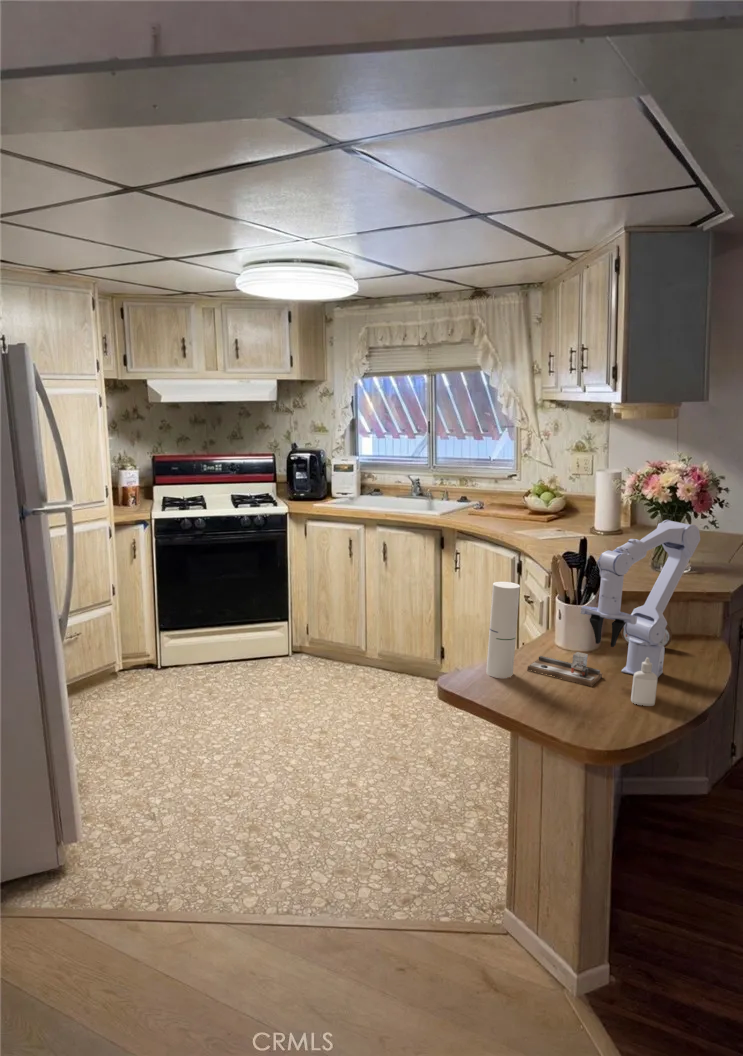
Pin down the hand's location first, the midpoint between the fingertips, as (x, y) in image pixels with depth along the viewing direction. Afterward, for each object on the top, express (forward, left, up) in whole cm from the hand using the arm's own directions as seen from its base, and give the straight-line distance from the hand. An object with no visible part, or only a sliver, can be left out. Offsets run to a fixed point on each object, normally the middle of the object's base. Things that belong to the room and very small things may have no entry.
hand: (605, 644), depth 204 cm
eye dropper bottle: (-14, +10, -10) cm, 20 cm away
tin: (-2, -38, -10) cm, 39 cm away
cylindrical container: (+23, +15, -10) cm, 30 cm away
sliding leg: (+6, +2, -8) cm, 11 cm away
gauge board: (+9, +3, -10) cm, 14 cm away
